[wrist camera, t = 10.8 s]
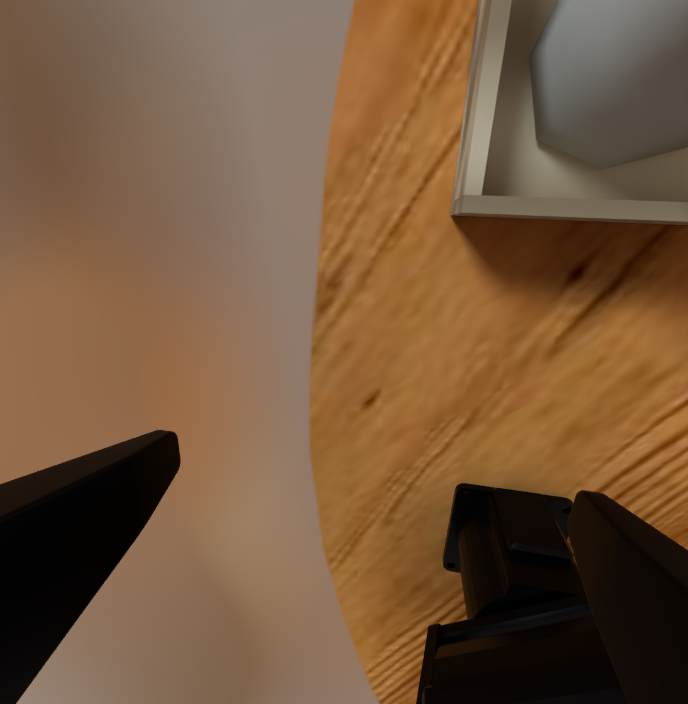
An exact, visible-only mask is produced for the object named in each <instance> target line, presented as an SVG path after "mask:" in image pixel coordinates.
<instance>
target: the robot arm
mask: <svg viewBox="0 0 688 704" xmlns="http://www.w3.org/2000/svg"><path fill="white" fill-rule="evenodd" d="M179 467H180V453H179V444H178V437H177V435H176V433H174V432H172V431H165V430H156V431H153V432H150V433H147V434H144V435H141V436H139V437H136V438H133V439H130V440H127V441H124V442H121V443H118V444H115V445H113V446H110V447H107V448H104V449H101V450H98V451H95V452H92V453H89V454H87V455H84V456H81V457H78V458H75V459H72V460H69V461H66V462H63V463H61V464H58V465H55V466H52V467H49V468H46V469H43V470H40V471H37V472H35V473H32V474H29V475H26V476H23V477H20V478H17V479H14V480H11V481H9V482H6V483H3V484H0V704H16V703H17V702H18V700H19V699H20V698H21V696H22V695H23V693H24V692H25V691H26V689H27V688H28V687H29V685H30V684H31V682H32V681H33V680H34V678H35V677H36V675H37V674H38V673H39V671H40V670H41V669H42V667H43V666H44V665H45V663H46V662H47V660H48V659H49V658H50V656H51V655H52V654H53V652H54V651H55V650H56V648H57V647H58V645H59V644H60V643H61V641H62V640H63V638H64V637H65V636H66V634H67V633H68V631H69V630H70V629H71V628H72V626H73V625H74V623H75V622H76V621H77V619H78V618H79V616H80V615H81V614H82V612H83V611H84V610H85V608H86V607H87V606H88V604H89V603H90V601H91V600H92V598H93V597H94V596H95V595H96V593H97V592H98V591H99V589H100V588H101V586H102V585H103V584H104V582H105V581H106V580H107V578H108V577H109V575H110V574H111V573H112V571H113V570H114V569H115V567H116V566H117V564H118V563H119V562H120V560H121V559H122V557H123V556H124V555H125V553H126V552H127V551H128V549H129V548H130V547H131V545H132V544H133V543H134V541H135V540H136V538H137V537H138V536H139V534H140V532H141V531H142V530H143V528H144V527H145V525H146V524H147V522H148V520H149V519H150V517H151V516H152V514H153V512H154V511H155V509H156V507H157V506H158V504H159V502H160V501H161V499H162V497H163V495H164V494H165V492H166V490H167V489H168V487H169V485H170V484H171V482H172V480H173V479H174V477H175V475H176V474H177V472H178V470H179ZM463 491H466V492H468V493H466V494H462V493H461V492H463ZM565 506H568V507H567V508H564V509H562V508H563V507H565ZM568 535H569V538H570V542H571V545H572V549H573V552H574V555H575V559H576V562H577V565H576V563H575V561H574V559H573V553H572V551H571V549H570V547H569V545H568V543H567V541H566V540H567V537H568ZM449 562H453V563H449ZM443 566H444V568H445V569H447V570H449V571H453V572H459V573H461V578H462V585H463V592H464V598H465V605H466V612H467V620H463V621H458V622H454V623H449V624H445V625H440V624H439V623H438V624H434V625H430V626H429V627H428V632H427V639H426V645H425V651H424V658H423V664H422V670H421V676H420V683H419V689H418V695H417V702H416V704H688V550H687V549H685V548H684V547H682V546H681V545H679V544H678V543H676V542H675V541H673V540H672V539H670V538H669V537H667V536H666V535H664V534H663V533H661V532H660V531H658V530H657V529H655V528H654V527H652V526H651V525H649V524H648V523H646V522H645V521H643V520H642V519H640V518H639V517H637V516H636V515H634V514H633V513H631V512H630V511H628V510H627V509H625V508H624V507H622V506H621V505H620V504H618V503H617V502H615V501H614V500H612V499H611V498H609V497H608V496H606V495H604V494H603V493H599V492H592V491H585V490H581V491H579V492H578V493H577V494H576V497H575V500H574V503H573V502H572V501H571V500H570V499H568V498H563V497H556V496H549V495H542V494H537V493H530V492H523V491H516V490H509V489H502V488H494V487H487V486H480V485H473V484H466V483H461V484H459V485H457V486H456V488H455V493H454V498H453V504H452V509H451V515H450V521H449V526H448V532H447V537H446V543H445V548H444V554H443ZM577 566H578V567H577Z"/></svg>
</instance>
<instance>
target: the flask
mask: <svg viewBox="0 0 688 704" xmlns="http://www.w3.org/2000/svg"><path fill="white" fill-rule="evenodd" d="M529 58H530V70H531V83H532V96H533V109H534V121H535V134H536V140H538V141H540V142H542V143H545V144H547V145H549V146H551V147H553V148H556V149H558V150H560V151H562V152H565V153H567V154H569V155H571V156H574V157H576V158H578V159H580V160H582V161H585V162H587V163H589V164H591V165H594V166H596V167H598V168H600V169H605V168H609V167H613V166H617V165H621V164H625V163H629V162H632V161H636V160H640V159H644V158H648V157H652V156H656V155H660V154H664V153H667V152H671V151H675V150H679V149H683V148H687V147H688V0H557V2H556V4H555V6H554V8H553V10H552V12H551V14H550V16H549V18H548V20H547V22H546V24H545V26H544V28H543V30H542V32H541V34H540V36H539V38H538V40H537V42H536V44H535V46H534V48H533V50H532V52H531V54H530V56H529Z"/></svg>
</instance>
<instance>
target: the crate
mask: <svg viewBox="0 0 688 704" xmlns="http://www.w3.org/2000/svg"><path fill="white" fill-rule="evenodd" d="M556 2H557V0H479V2H478V9H477V17H476V24H475V32H474V39H473V47H472V55H471V62H470V70H469V77H468V85H467V92H466V100H465V107H464V115H463V123H462V130H461V138H460V145H459V153H458V160H457V168H456V175H455V183H454V191H453V198H452V206H451V213H450V215H454V216H478V217H503V218H527V219H551V220H576V221H600V222H624V223H649V224H673V225H688V147H687V148H683V149H679V150H675V151H671V152H667V153H664V154H660V155H656V156H652V157H648V158H644V159H640V160H636V161H632V162H629V163H625V164H621V165H617V166H613V167H609V168H605V169H600V168H598V167H596V166H594V165H591V164H589V163H587V162H585V161H582V160H580V159H578V158H576V157H574V156H571V155H569V154H567V153H565V152H562V151H560V150H558V149H556V148H553V147H551V146H549V145H547V144H545V143H542V142H540V141H538V140H536V134H535V121H534V109H533V96H532V83H531V70H530V58H529V56H530V54H531V52H532V50H533V48H534V46H535V44H536V42H537V40H538V38H539V36H540V34H541V32H542V30H543V28H544V26H545V24H546V22H547V20H548V18H549V16H550V14H551V12H552V10H553V8H554V6H555V4H556Z"/></svg>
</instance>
